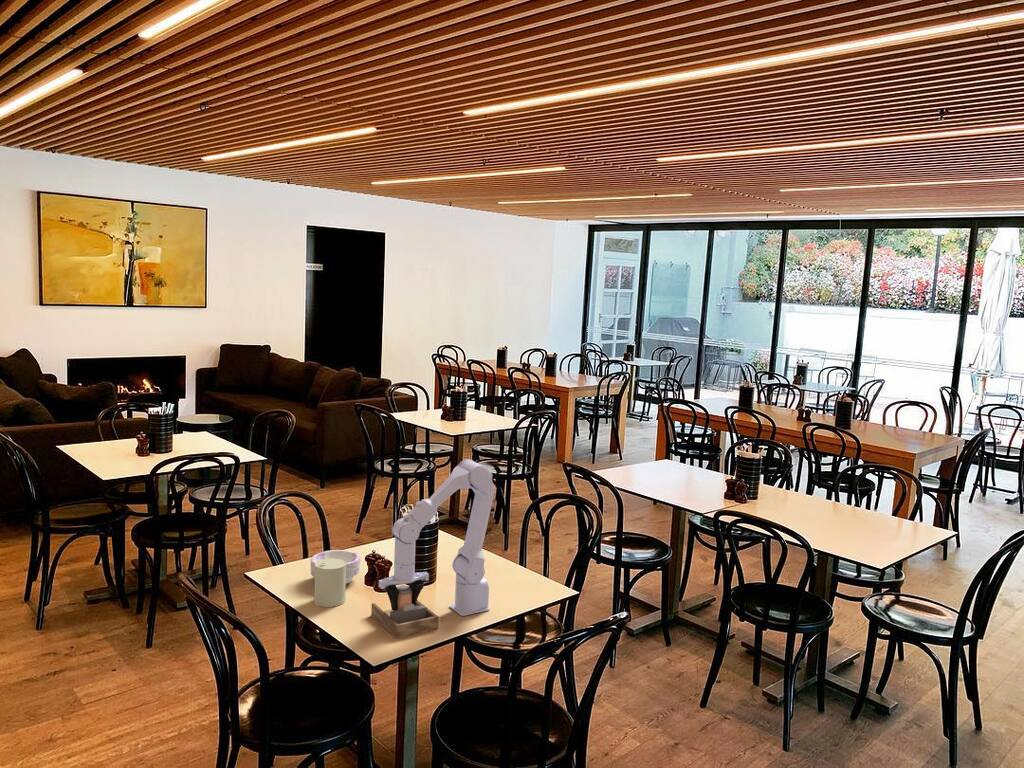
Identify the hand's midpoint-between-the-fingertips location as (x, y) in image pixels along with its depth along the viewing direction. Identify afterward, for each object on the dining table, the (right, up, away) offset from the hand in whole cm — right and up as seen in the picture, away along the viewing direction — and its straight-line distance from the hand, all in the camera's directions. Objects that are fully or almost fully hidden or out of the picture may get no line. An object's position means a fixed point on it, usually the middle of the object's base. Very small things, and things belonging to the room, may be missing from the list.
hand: (403, 608), depth 227 cm
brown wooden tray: (0, -4, 0) cm, 4 cm away
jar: (0, -2, +1) cm, 2 cm away
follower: (+2, -3, -2) cm, 4 cm away
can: (-23, -1, +12) cm, 26 cm away
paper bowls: (-25, +1, +27) cm, 37 cm away
